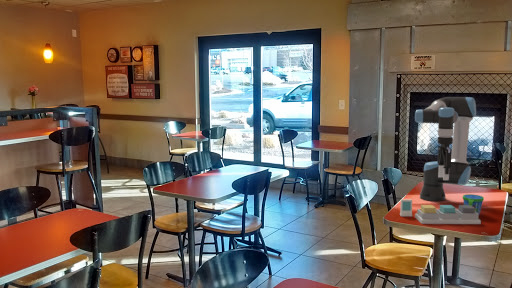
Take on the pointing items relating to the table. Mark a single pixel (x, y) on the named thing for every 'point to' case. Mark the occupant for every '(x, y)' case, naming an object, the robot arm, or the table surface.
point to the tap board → (447, 217)
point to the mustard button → (428, 209)
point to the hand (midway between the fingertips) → (443, 178)
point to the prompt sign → (406, 207)
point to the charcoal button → (466, 209)
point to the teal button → (447, 209)
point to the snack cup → (473, 201)
